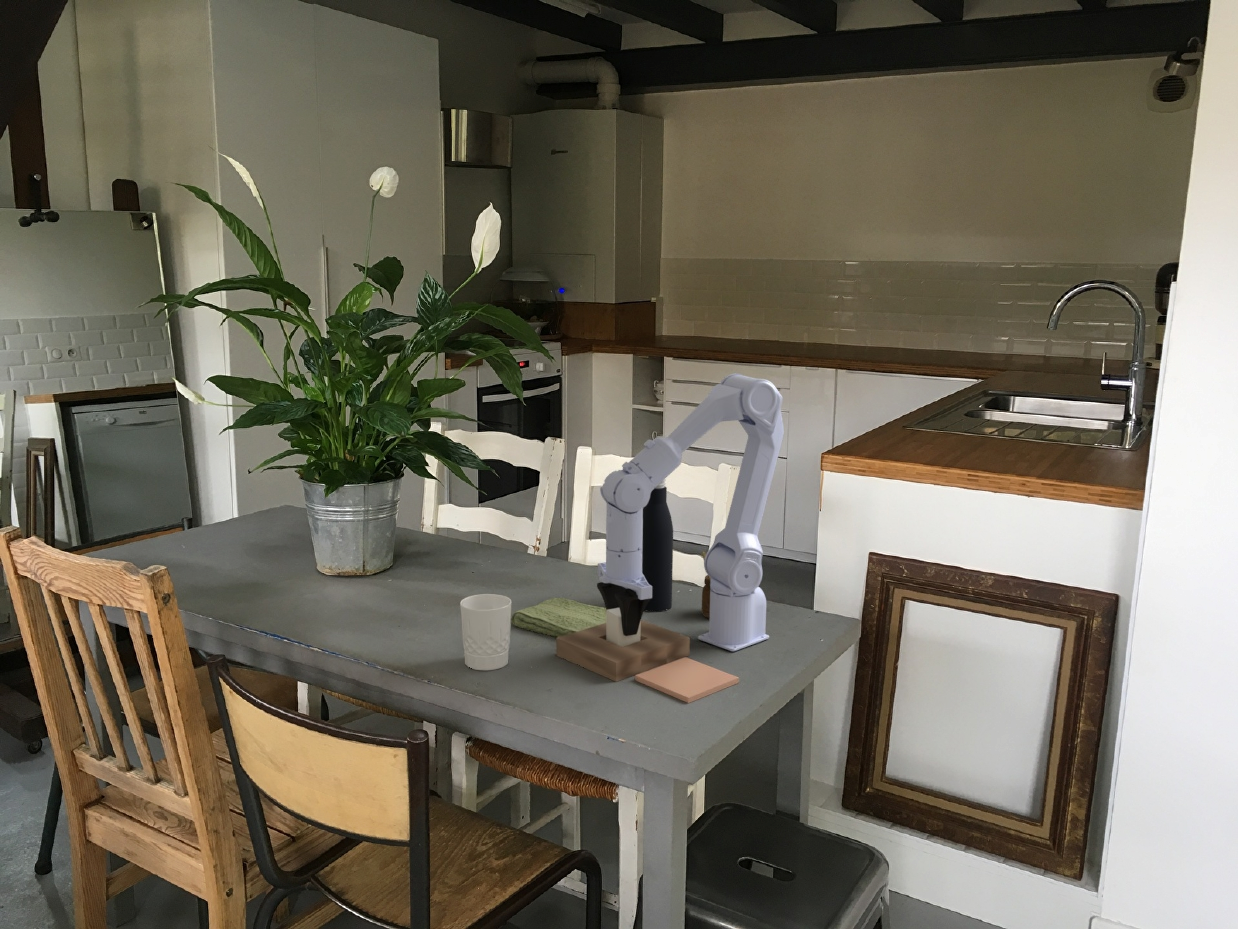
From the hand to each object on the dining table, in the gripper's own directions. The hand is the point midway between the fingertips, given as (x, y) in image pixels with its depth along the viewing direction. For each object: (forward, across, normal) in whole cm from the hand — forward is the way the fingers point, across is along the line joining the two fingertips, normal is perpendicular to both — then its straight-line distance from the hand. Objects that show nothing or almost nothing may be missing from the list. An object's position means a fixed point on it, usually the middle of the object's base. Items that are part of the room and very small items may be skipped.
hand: (623, 630), depth 165 cm
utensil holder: (+4, -10, +24) cm, 27 cm away
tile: (+4, +14, +4) cm, 15 cm away
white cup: (+4, -7, -20) cm, 22 cm away
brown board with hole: (+4, 0, 0) cm, 4 cm away
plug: (+4, 0, 0) cm, 4 cm away
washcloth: (+5, -16, -2) cm, 17 cm away
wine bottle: (+4, -19, +17) cm, 26 cm away
